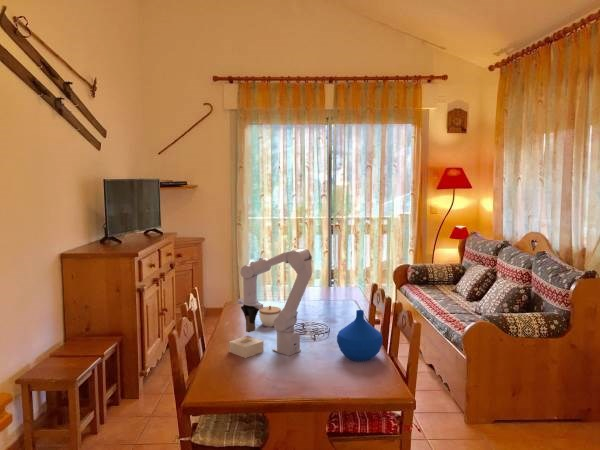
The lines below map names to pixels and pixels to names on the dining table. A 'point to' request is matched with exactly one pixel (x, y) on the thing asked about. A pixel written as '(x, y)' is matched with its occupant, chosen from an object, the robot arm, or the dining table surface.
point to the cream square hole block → (246, 346)
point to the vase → (359, 339)
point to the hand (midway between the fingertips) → (250, 322)
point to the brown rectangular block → (249, 325)
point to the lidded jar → (269, 315)
